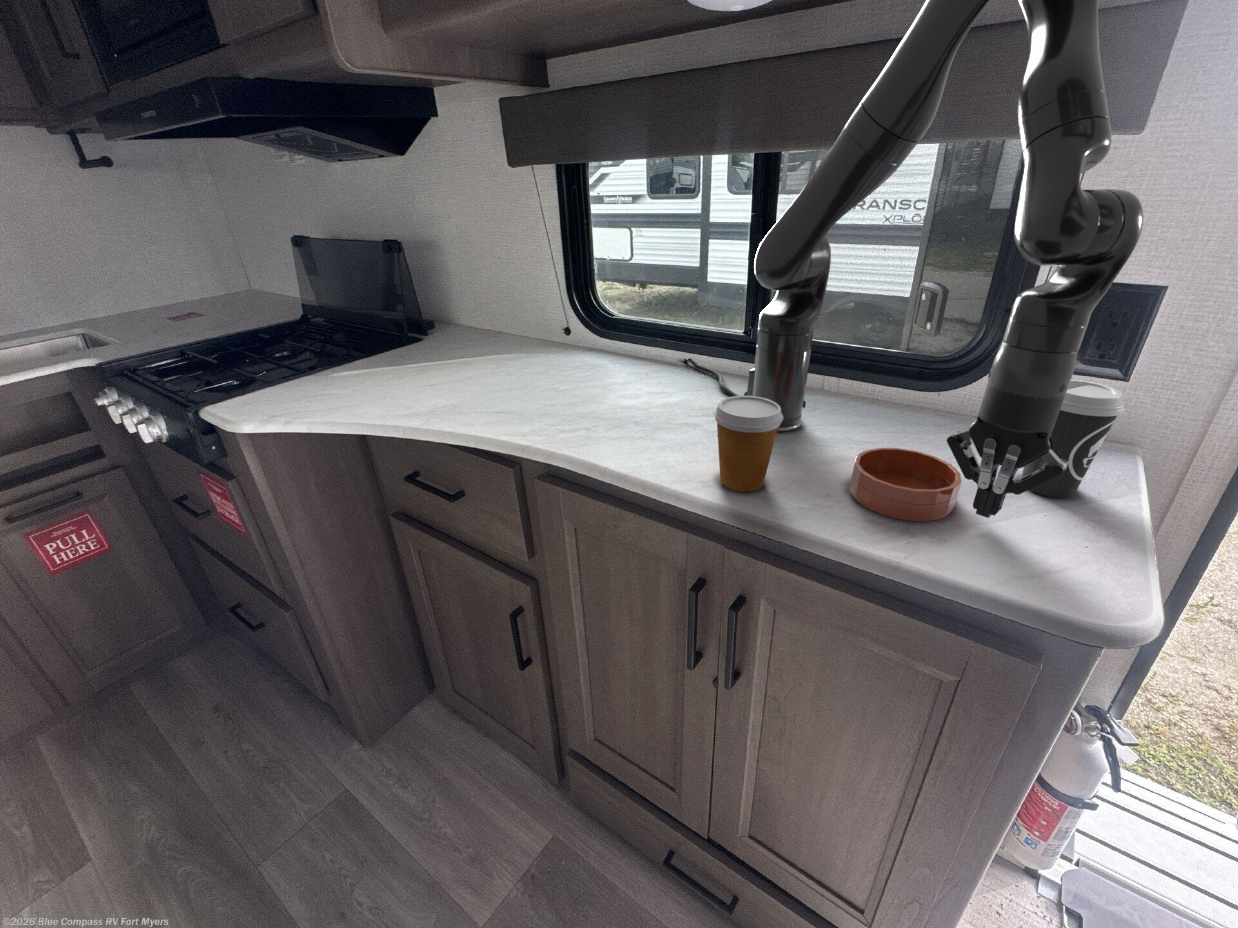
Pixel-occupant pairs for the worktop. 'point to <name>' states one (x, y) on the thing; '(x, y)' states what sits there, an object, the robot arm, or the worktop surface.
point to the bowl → (905, 484)
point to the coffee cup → (1079, 434)
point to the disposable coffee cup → (746, 440)
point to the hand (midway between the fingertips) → (984, 513)
